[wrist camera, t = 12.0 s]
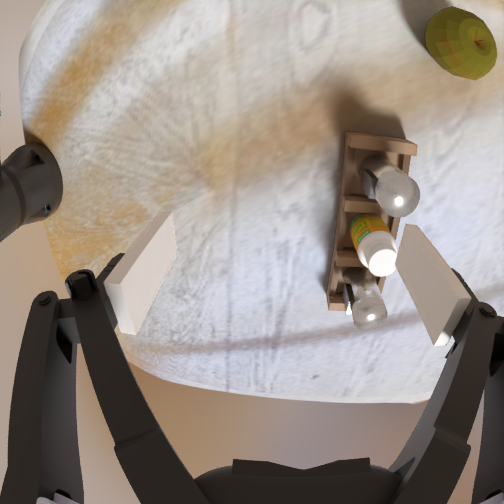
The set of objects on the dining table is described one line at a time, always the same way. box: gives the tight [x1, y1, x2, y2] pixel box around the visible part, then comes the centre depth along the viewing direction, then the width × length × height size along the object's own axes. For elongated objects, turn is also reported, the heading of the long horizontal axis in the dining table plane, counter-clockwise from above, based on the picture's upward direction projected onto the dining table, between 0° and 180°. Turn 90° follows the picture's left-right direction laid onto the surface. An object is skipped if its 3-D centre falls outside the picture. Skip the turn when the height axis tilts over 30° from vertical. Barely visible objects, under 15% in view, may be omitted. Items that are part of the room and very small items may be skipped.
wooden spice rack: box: [326, 132, 418, 311], centre depth 40 cm, size 9×27×4 cm, turn 0°
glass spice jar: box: [343, 267, 387, 330], centre depth 41 cm, size 5×5×10 cm
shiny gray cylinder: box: [359, 155, 420, 218], centre depth 32 cm, size 5×5×10 cm
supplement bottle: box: [350, 213, 397, 277], centre depth 37 cm, size 5×5×10 cm
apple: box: [425, 6, 497, 80], centre depth 21 cm, size 10×10×11 cm
